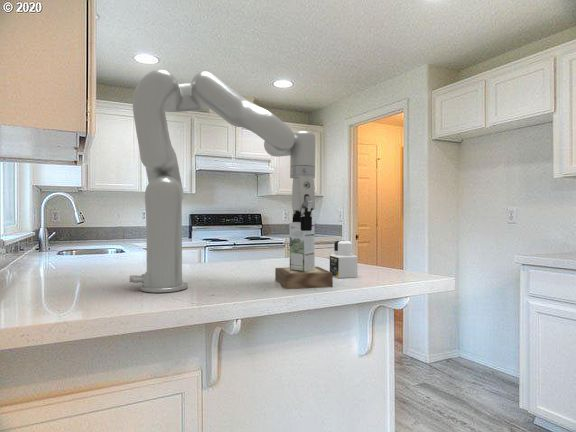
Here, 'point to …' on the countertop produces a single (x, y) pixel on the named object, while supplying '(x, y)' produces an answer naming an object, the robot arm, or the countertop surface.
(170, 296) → the countertop surface
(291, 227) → the syrup box
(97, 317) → the countertop surface
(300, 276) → the stand
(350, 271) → the medicine bottle
